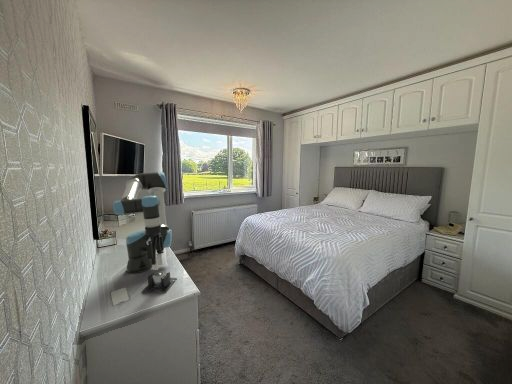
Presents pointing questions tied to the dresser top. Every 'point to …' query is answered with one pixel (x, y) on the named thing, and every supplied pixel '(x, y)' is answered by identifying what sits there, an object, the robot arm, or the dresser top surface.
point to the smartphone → (119, 296)
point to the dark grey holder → (166, 284)
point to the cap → (158, 279)
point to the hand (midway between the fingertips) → (157, 267)
